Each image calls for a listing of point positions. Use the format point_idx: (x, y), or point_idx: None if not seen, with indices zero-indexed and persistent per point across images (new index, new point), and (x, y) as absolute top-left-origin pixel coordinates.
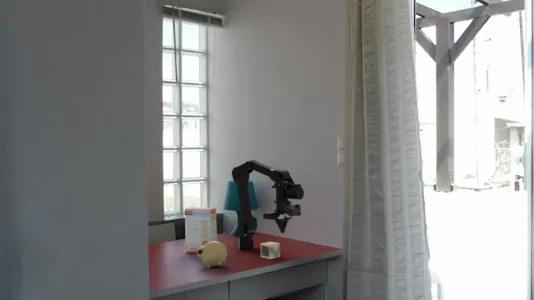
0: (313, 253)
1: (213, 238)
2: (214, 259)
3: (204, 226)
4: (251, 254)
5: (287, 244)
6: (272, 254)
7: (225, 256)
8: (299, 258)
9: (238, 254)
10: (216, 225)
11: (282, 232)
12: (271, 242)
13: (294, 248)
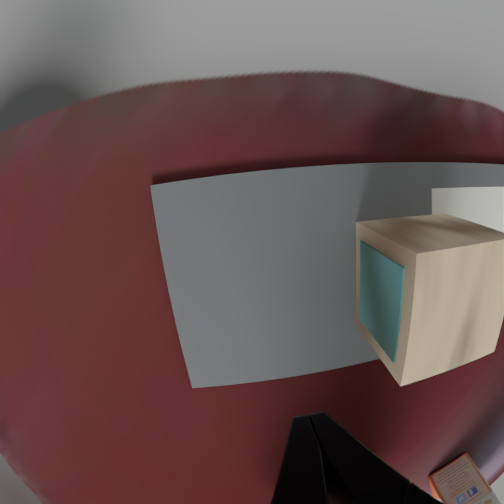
0: (43, 174)
1: (475, 500)
2: None
3: None
4: (390, 408)
5: (76, 461)
6: (444, 220)
7: None
8: (245, 92)
9: (420, 429)
10: None
11: (328, 422)
12: (431, 342)
13: (76, 388)
